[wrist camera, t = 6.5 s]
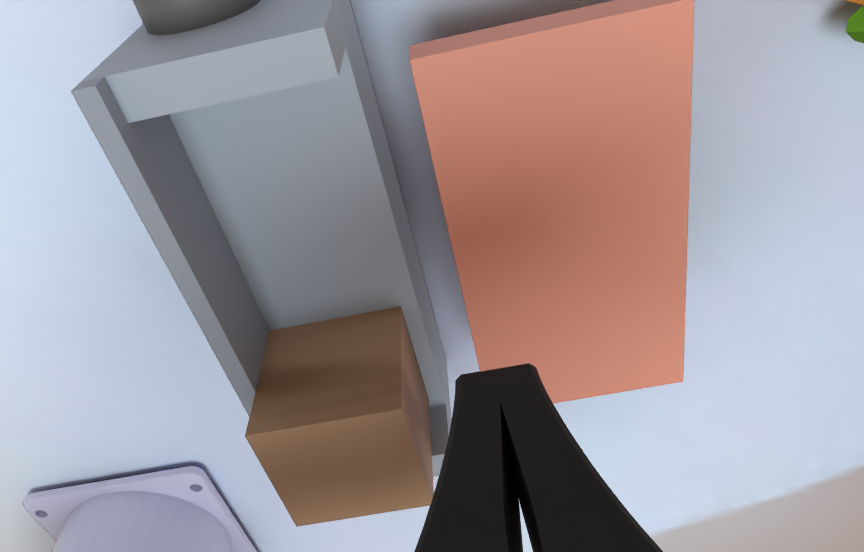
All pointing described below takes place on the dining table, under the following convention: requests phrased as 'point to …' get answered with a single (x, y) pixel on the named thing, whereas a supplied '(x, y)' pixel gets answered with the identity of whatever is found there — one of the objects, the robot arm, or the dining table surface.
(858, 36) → the corn
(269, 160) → the grey boxy piece
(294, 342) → the block
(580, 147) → the thick rectangular slab
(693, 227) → the dining table surface
